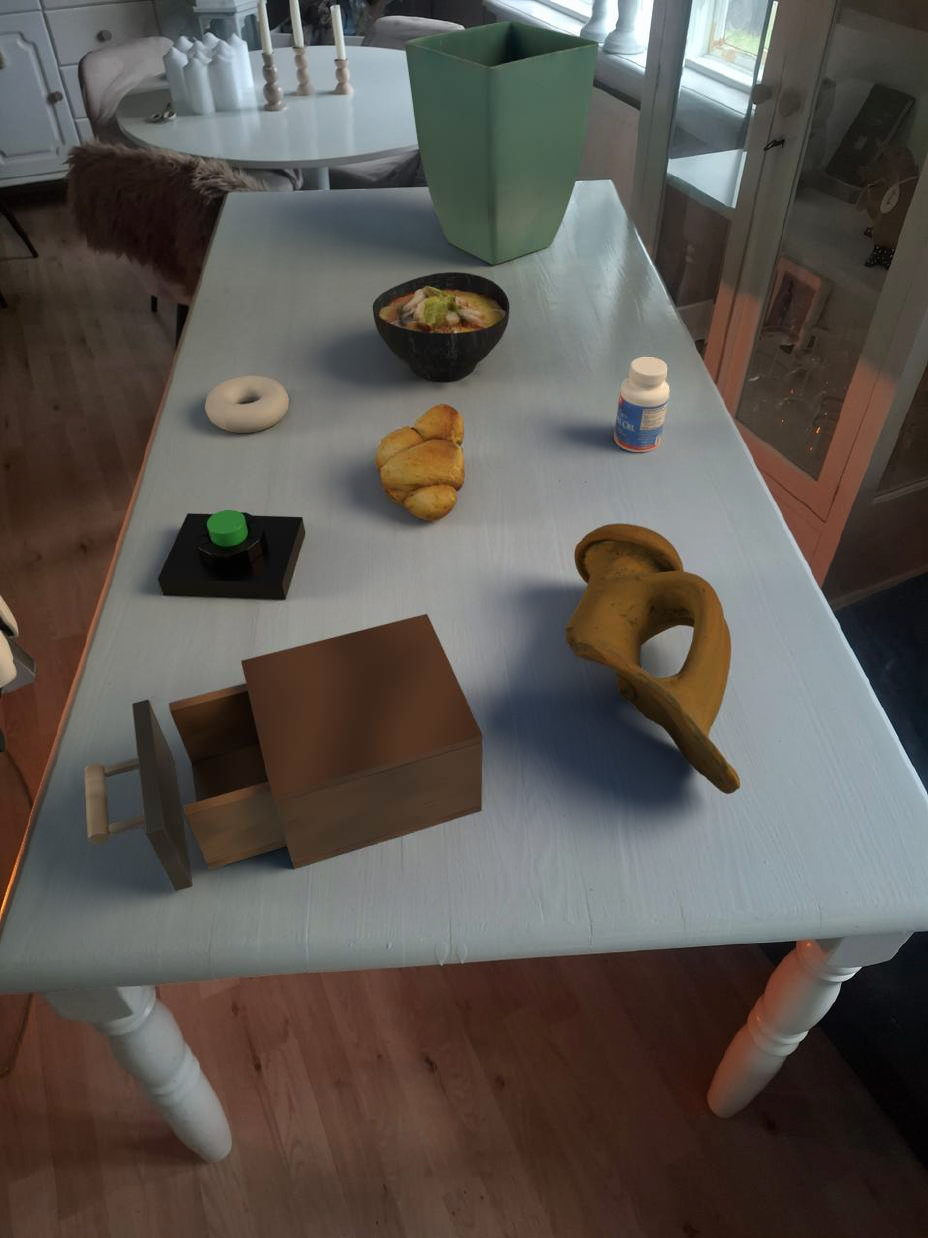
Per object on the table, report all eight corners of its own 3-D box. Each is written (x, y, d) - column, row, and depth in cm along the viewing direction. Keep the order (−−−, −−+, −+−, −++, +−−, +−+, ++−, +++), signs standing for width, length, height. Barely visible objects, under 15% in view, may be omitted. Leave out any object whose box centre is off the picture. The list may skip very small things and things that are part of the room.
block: (162, 595, 83) (151, 564, 80) (192, 529, 90) (183, 498, 87) (285, 600, 83) (278, 569, 80) (305, 533, 90) (300, 502, 87)
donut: (297, 395, 109) (219, 393, 109) (294, 370, 106) (213, 368, 107) (282, 440, 102) (198, 437, 102) (278, 414, 99) (192, 412, 100)
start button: (206, 546, 83) (202, 532, 81) (216, 522, 85) (212, 508, 84) (243, 548, 82) (239, 533, 81) (252, 524, 85) (248, 510, 84)
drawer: (112, 911, 60) (74, 854, 54) (103, 780, 67) (69, 719, 62) (361, 834, 64) (350, 774, 58) (326, 719, 71) (313, 656, 66)
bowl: (529, 351, 116) (532, 278, 109) (471, 413, 105) (470, 336, 98) (418, 324, 121) (415, 253, 114) (353, 381, 111) (344, 306, 104)
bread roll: (468, 528, 90) (468, 464, 84) (375, 532, 90) (368, 468, 84) (463, 457, 99) (462, 395, 93) (378, 460, 99) (372, 398, 93)
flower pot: (412, 240, 142) (401, 38, 122) (505, 211, 150) (510, 17, 130) (487, 282, 131) (489, 66, 111) (584, 248, 139) (602, 42, 119)
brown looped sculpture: (470, 696, 64) (557, 491, 76) (523, 782, 73) (593, 587, 85) (721, 726, 55) (777, 487, 67) (747, 820, 64) (792, 596, 76)
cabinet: (294, 869, 63) (271, 796, 56) (263, 738, 71) (240, 660, 64) (482, 810, 66) (482, 735, 59) (431, 691, 74) (427, 613, 68)
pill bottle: (605, 433, 102) (614, 357, 95) (645, 424, 103) (657, 348, 96) (627, 458, 98) (638, 381, 91) (668, 448, 100) (683, 371, 93)
